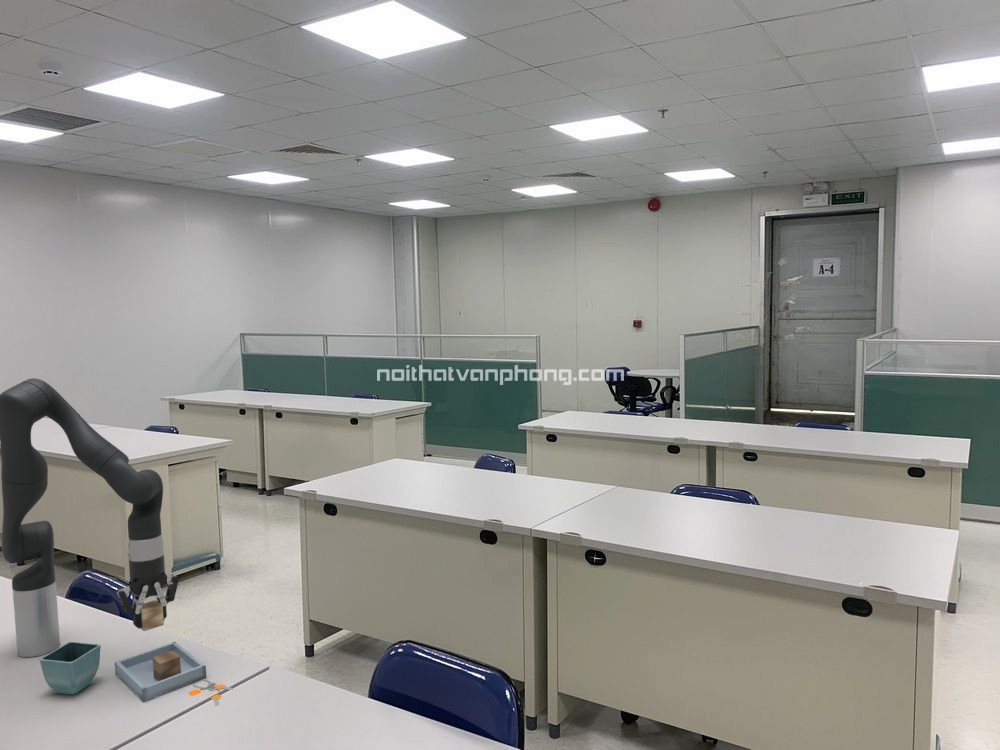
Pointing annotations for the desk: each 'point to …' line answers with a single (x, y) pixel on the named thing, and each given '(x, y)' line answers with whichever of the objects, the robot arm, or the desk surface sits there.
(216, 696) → the key chain
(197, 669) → the tray
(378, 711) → the desk surface
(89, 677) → the flower pot
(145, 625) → the oak block
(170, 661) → the walnut block
